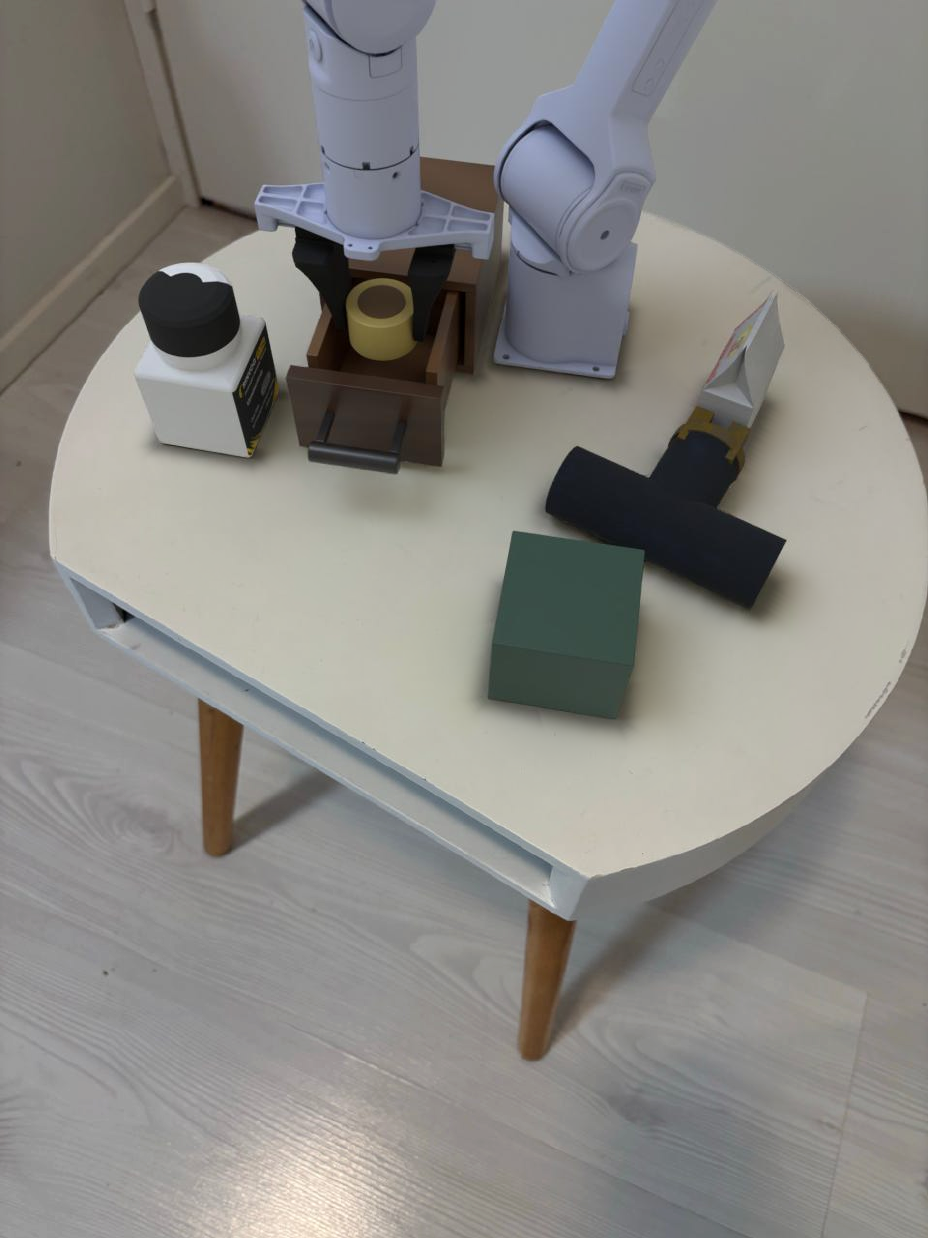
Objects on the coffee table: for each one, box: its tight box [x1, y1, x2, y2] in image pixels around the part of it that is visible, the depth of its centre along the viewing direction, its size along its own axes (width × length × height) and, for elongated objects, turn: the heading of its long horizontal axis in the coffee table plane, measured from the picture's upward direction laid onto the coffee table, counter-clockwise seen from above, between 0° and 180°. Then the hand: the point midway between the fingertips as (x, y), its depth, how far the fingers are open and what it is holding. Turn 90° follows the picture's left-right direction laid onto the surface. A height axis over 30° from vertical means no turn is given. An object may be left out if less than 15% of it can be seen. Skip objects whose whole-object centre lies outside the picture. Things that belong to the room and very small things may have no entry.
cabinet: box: [318, 156, 505, 376], centre depth 75 cm, size 14×12×9 cm
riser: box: [487, 530, 645, 720], centre depth 59 cm, size 8×8×7 cm
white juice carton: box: [696, 289, 786, 431], centre depth 68 cm, size 4×7×10 cm, turn 152°
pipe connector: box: [544, 405, 788, 611], centre depth 65 cm, size 12×5×15 cm
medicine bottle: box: [133, 262, 280, 458], centre depth 67 cm, size 7×7×12 cm
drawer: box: [285, 277, 463, 475], centre depth 68 cm, size 17×10×7 cm, turn 170°
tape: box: [346, 278, 417, 361], centre depth 66 cm, size 5×5×3 cm
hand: (382, 325), depth 66 cm, fingers closed on tape, 5 cm apart
